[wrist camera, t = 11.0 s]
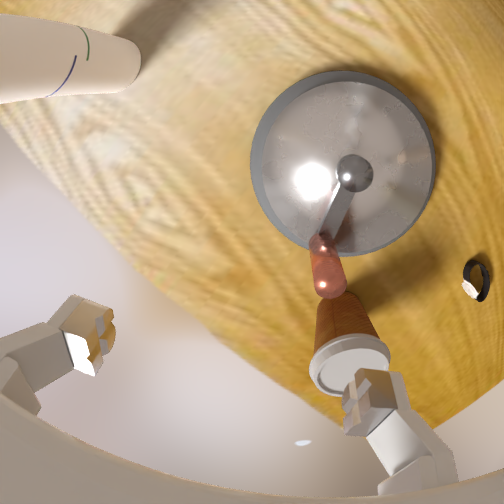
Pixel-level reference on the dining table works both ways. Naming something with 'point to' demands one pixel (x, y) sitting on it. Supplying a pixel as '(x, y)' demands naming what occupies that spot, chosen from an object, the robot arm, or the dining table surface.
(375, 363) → the disposable coffee cup
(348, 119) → the handwheel
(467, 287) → the watch
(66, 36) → the cylindrical container
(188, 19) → the dining table surface
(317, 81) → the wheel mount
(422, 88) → the dining table surface
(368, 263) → the dining table surface
